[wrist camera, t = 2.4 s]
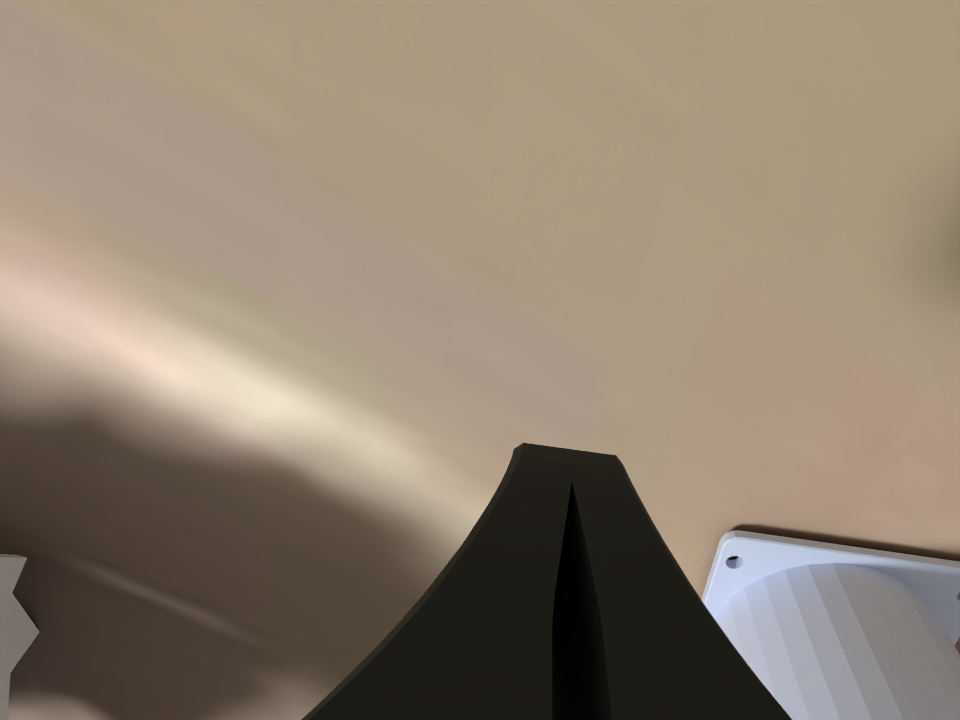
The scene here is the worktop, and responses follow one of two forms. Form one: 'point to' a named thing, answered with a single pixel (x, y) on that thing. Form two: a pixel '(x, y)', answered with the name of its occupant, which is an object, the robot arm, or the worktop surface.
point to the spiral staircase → (11, 626)
